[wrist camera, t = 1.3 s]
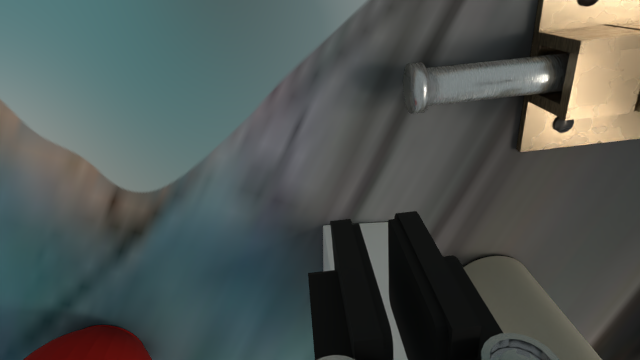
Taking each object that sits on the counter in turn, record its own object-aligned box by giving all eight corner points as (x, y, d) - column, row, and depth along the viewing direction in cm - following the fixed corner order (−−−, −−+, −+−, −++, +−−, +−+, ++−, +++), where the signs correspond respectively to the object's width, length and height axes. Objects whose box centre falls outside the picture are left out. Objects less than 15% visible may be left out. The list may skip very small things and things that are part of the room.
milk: (388, 275, 36) (512, 629, 17) (321, 279, 36) (369, 647, 16) (393, 219, 33) (549, 564, 14) (321, 223, 33) (378, 585, 13)
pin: (633, 34, 27) (674, 41, 24) (620, 81, 28) (658, 93, 26) (403, 59, 27) (417, 69, 24) (402, 106, 28) (416, 120, 25)
